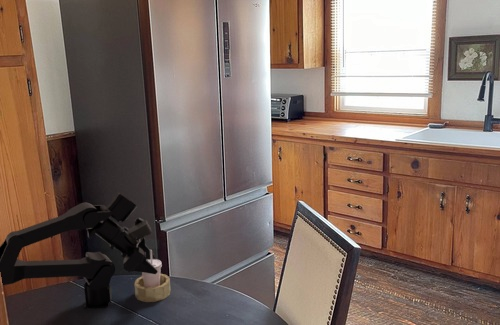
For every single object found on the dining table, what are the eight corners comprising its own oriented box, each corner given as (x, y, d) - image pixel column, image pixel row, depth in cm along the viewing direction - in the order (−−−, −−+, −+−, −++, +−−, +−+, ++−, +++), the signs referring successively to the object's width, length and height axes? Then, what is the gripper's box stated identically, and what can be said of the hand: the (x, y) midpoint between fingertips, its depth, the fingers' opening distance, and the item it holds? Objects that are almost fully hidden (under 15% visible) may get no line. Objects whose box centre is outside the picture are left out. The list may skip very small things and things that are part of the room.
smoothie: (151, 301, 135) (148, 255, 132) (137, 295, 139) (133, 250, 136) (168, 292, 140) (165, 248, 137) (154, 286, 144) (150, 243, 141)
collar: (133, 302, 134) (132, 289, 133) (139, 286, 144) (138, 274, 143) (168, 301, 135) (167, 288, 134) (171, 284, 145) (171, 272, 144)
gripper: (133, 224, 124) (177, 258, 129) (133, 203, 142) (172, 234, 147) (104, 255, 124) (150, 288, 129) (108, 231, 142) (148, 261, 147)
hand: (156, 266), depth 138 cm, fingers open, 9 cm apart
